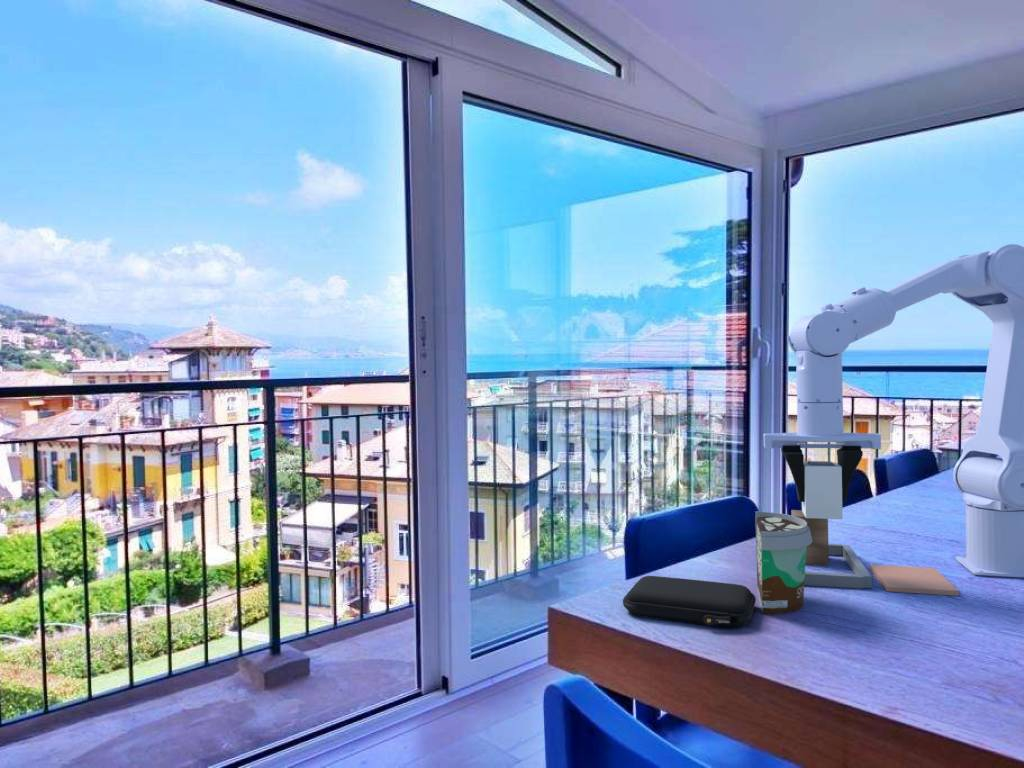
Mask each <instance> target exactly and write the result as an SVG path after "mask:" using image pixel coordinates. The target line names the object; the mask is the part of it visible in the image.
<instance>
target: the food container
mask: <svg viewBox="0 0 1024 768" xmlns="http://www.w3.org/2000/svg"><path fill="white" fill-rule="evenodd" d="M754 519H755V550H756V586H757V587H756V590H757V593H758V594H757V595H758V600H759V604H760V609H761V614H762V615H787V614H792V613H796V612H798V611H800V610H802V608H803V606H804V597H805V595H804V594H805V585H804V581H805V572H806V565H807V564H806V547H807V546H808V545H810V544H811V543H812V537H811V533H810V528H809V527H808V526H807V522H806V521H805V520H803V519H801V518H798V517H795V516H791V515H790V514H785V513H781V512H779V513H778V512H771V511H770V512H769V511H755V518H754Z"/></svg>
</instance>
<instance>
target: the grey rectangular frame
mask: <svg viewBox="0 0 1024 768" xmlns="http://www.w3.org/2000/svg"><path fill="white" fill-rule="evenodd" d="M828 550H829V556H841V557H843V558H844V559H845V562H846V563H847V565H848V566H849V567H850V570H851V571H852V573H851V574H850V573H835V572H817V571H816V572H813V571H805V581H804V586H812V587H826V588H827V587H828V588H845V589H862V590H863V589H864V590H865V588H867V589H872V588H873V577H872V575H871V574H870V572H869V571H868V569H867V567H865V565H864V564H863V562H862V561H861V560H860V558H859V557H858V556H857V554H856V552H855V551H854V550H853V549H852V548H851V545H849V544H842V543H829V542H828ZM853 573H854V574H853Z"/></svg>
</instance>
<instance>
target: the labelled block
mask: <svg viewBox="0 0 1024 768" xmlns="http://www.w3.org/2000/svg"><path fill="white" fill-rule="evenodd" d="M803 481H804V491H805V502H801V510H802V512H803V514H804V516H805V517H806V518H817V519H828V520H843V503H842V467H841V466H840V465H839V464H838V462H836V461H831V460H830V461H828V460H827V461H824V460H822V461H821V460H819V461H818V460H812V461H811V460H807V461H804V464H803Z"/></svg>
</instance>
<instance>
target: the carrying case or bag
mask: <svg viewBox="0 0 1024 768" xmlns="http://www.w3.org/2000/svg"><path fill="white" fill-rule="evenodd" d="M622 605H623V606H624V608H625V609H626V610H627V611H628V613H629V614H630V615H632V616H636V617H643V618H648V619H649V618H650V619H651V618H652V619H656V618H658V620H664V621H665V620H666V621H674V622H681V623H689V624H695V625H696V624H698V625H705V626H713V627H719V628H720V627H722V628H729V629H731V628H733V629H740V628H742V627H744V626H745V625H746V624H747V622H749V621H750V620H751V619H752V617H753V613H754V609H755V605H756V595H755V594H754V593H753V592H751V589H749V588H748V587H747V586H745V585H743V584H742V585H741V584H738V583H737V584H736V583H728V582H718V581H708V580H698V579H689V578H679V577H670V576H667V577H666V576H658V575H657V576H656V575H646V576H643V577H641V578H640V579H639V580H638V581H637V582H636V583H635V584H634V585H633V586H632V587H631V589H630V590H629V591H628V592H627V594H625V595H624V597H623V599H622Z"/></svg>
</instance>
